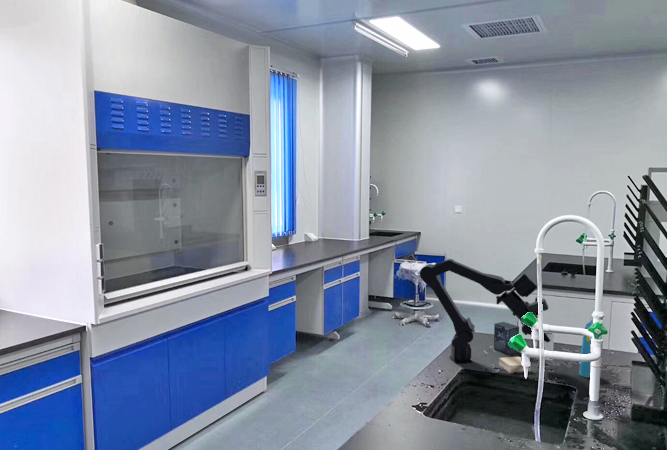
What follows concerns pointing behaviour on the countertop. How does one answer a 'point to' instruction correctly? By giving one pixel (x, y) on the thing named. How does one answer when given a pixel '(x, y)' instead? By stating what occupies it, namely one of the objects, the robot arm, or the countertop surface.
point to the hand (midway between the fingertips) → (549, 339)
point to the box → (504, 336)
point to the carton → (549, 343)
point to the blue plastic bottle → (585, 350)
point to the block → (512, 364)
